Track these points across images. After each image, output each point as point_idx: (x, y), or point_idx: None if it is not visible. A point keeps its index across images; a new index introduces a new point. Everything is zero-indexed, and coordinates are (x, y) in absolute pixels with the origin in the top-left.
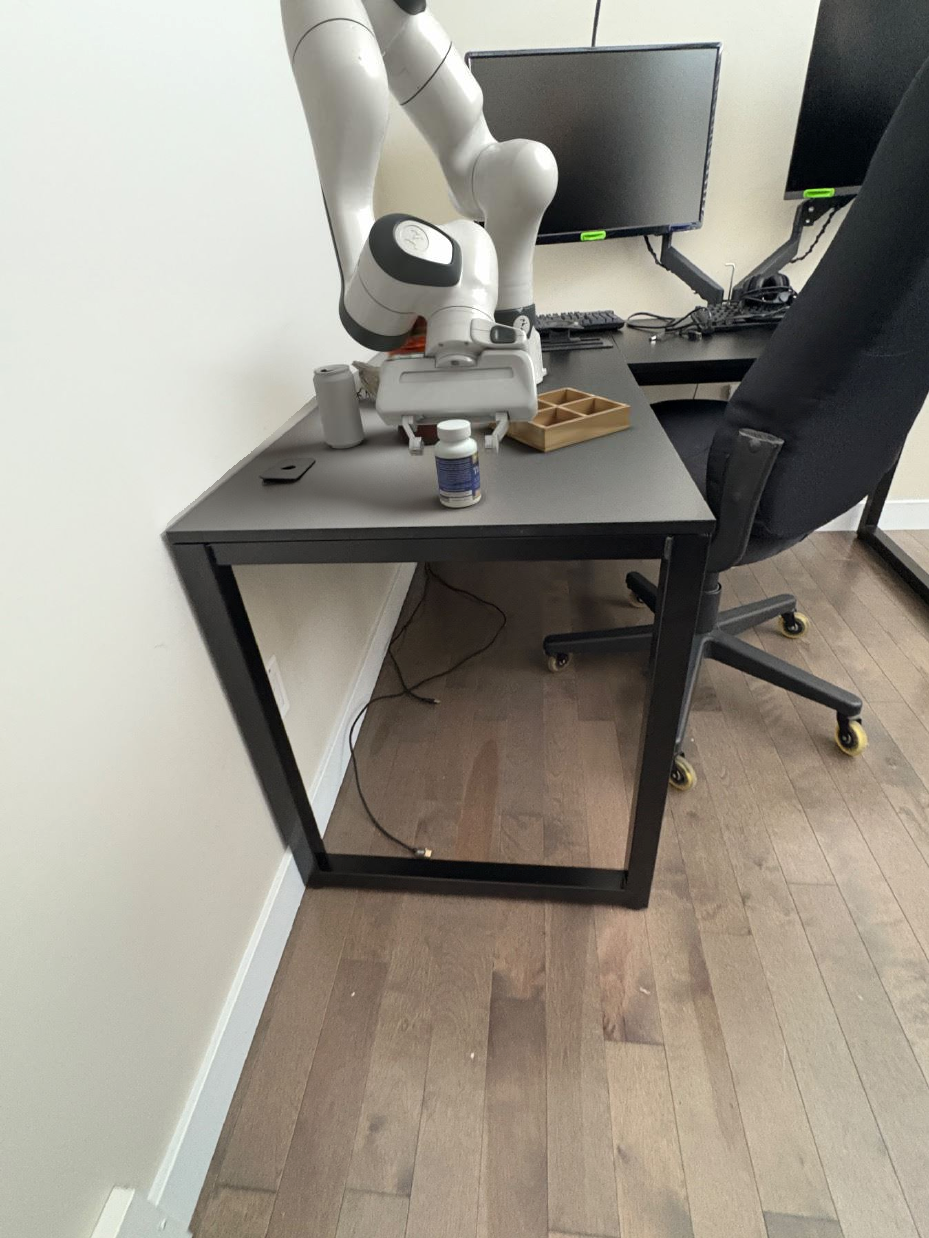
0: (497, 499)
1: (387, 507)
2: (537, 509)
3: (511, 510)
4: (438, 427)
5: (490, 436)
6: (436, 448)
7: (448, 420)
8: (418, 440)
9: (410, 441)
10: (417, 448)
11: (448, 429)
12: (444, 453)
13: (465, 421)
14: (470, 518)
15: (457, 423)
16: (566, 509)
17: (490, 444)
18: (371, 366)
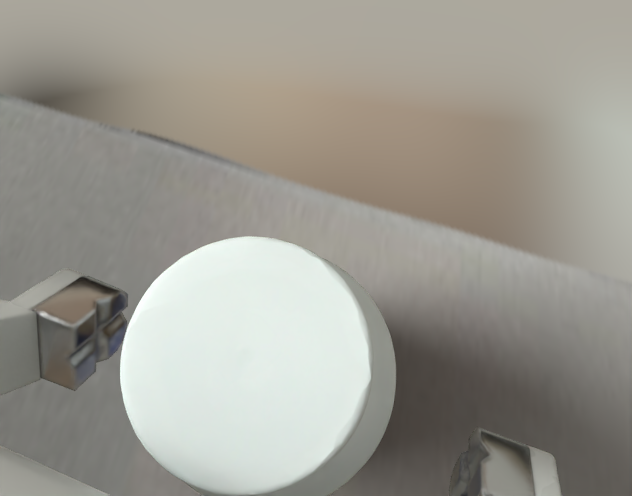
0: None
1: (580, 431)
2: (80, 215)
3: (155, 236)
4: (365, 333)
5: (50, 311)
6: (385, 338)
7: (259, 483)
8: (497, 474)
9: (554, 493)
10: (497, 434)
11: (303, 251)
12: (348, 275)
13: (141, 384)
14: (293, 226)
15: (212, 354)
16: (4, 185)
17: (84, 284)
18: None
